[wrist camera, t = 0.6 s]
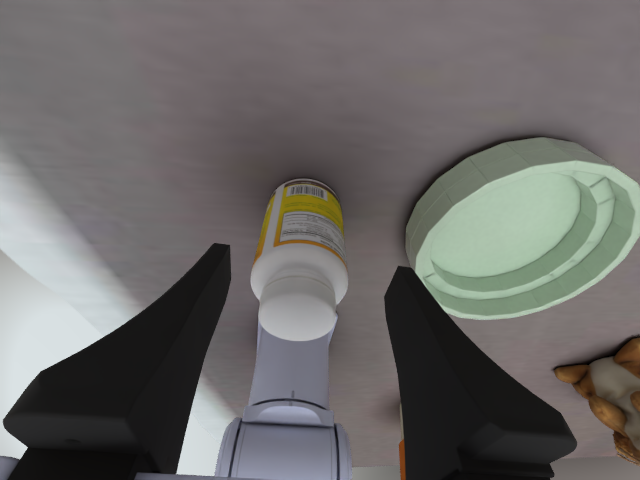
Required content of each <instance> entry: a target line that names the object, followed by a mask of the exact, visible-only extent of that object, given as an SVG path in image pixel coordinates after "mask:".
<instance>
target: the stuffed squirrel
mask: <svg viewBox="0 0 640 480" xmlns="http://www.w3.org/2000/svg"><path fill="white" fill-rule="evenodd" d="M554 372H555V375H556V377H557V378H558V379H560V380H562V381H564V382H567V383H571V384H572V385H573V387H574V388H575V390H576V391H577V392H579V393H580V394H581V395H582V396H583V397H584V398H586V399H588V400H589V406H590V409H591V410H592V412H593V413H594V415H595V416H596V417H597V418H598V419H599V420H600V421H601V422H602V423H603V424H605V425H606V426H607V427H609V428H611V429H613V431H614V434H612V435H613V436H614V440H615V441H614V443H615V446H616V450H617V451H618V453H621V454H623V455H625V456H627V458H630V459H631V460H633V461H635V462H637V463H635V462H632V461H629V460H627V459H626V458H625V457H623V456H621V455H619V454H617V456H619V457H621V458H623V459H625V460H627V461H629V462H631V463H633V464H636V465H638V466H640V338H637V339H632V340H631V341H629V342H628V343H627V344H625V345H624V346H623V347H622V348H621V349H620V351H619V352H618V353H617V354H616V356H611V357H606V358H602V359H599V360H596V361H594V362H592V363H590V364H589V365H574V366H566V367H559V368H557V369H556V370H555V371H554Z"/></svg>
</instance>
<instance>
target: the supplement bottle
mask: <svg viewBox="0 0 640 480" xmlns="http://www.w3.org/2000/svg"><path fill="white" fill-rule="evenodd" d="M251 287H252V290H253V292H254V294H255V296H256V297H257V298H258V300H259V301H260V307H259V312H258V318H259V322H260V324H261V326H262V327H263V328H264V329H265V330H266V331H267V332H269V333H270V334H272V335H274V336H276V337H278V338H281V339H285V340H290V341H308V340H313V339H317V338H319V337H322V336H324V335H325V334H327V333H328V332H329V331H330V330H331V329H332V328H333V326H334V324H335V320H336V305H337V304H338V303H339V302H340V301H341V300H342V299H343V297H344V296H345V294H346V291H347V288H348V271H347V262H346V251H345V241H344V230H343V220H342V209H341V205H340V201H339V199H338V197H337V196H336V194H335V193H334V192H333V190H331V189H330V188H329V187H328V186H327V185H325V184H323V183H321V182H319V181H316V180H312V179H295V180H291V181H288V182H286V183H284V184H282V185H281V186H279V187H278V188H277V189H276V190H275V191H274V192H273V194H272V195H271V197H270V200H269V202H268V206H267V210H266V214H265V219H264V223H263V227H262V231H261V235H260V239H259V243H258V247H257V251H256V255H255V259H254V263H253V267H252V272H251Z"/></svg>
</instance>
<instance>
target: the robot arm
mask: <svg viewBox="0 0 640 480" xmlns="http://www.w3.org/2000/svg"><path fill="white" fill-rule="evenodd" d="M230 281H231V261H230V245H226V244H218V243H214V244H213V245H212V246H211V247H210V248H209V249H208V250H207V252H206V253H205V254H204V255H203V256H202V257H201V258H200V259H199V261H198V262H197V263H196V264H195V265H194V266H193V267H192V268H191V269H190V270H189V271H188V272H187V273H186V274H185V275H184V276H183V277H182V278H181V279H180V280H179V281H178V282H177V283H175V284H174V285H173V286H172V287H171V288H170V289H169V290H168V291H167V292H165V293H164V294H163V295H162V296H161V297H160V298H158V299H157V300H156V301H155V302H154V303H152V304H151V305H150V306H148V307H147V308H146V309H145V310H143V311H142V312H141V313H139V314H138V315H136V316H135V317H133V318H132V319H131V320H129V321H128V322H126V323H125V324H124V325H122V326H121V327H119V328H118V329H116V330H114V331H113V332H111V333H110V334H108V335H106V336H105V337H103V338H102V339H100V340H98V341H96V342H95V343H93V344H91V345H90V346H88V347H87V348H85V349H83V350H81V351H79V352H78V353H76V354H74V355H72V356H70V357H68V358H66V359H64V360H62V361H60V362H58V363H57V364H54V365H53V366H51V367H49V368H47V369H45V370H43V371H41V372H40V373H39V374H38V375H37V376H36V378H35V379H34V380H33V381H32V382H31V383H30V385H29V386H28V387H27V388H26V389H25V391H24V392H23V394H22V395H21V396H20V398H19V399H18V400H17V402H16V403H15V404H14V406H13V407H12V408H11V410H10V411H9V412H8V414H7V415H6V417H5V418H4V419H3V425H4V428H5V429H6V430H7V431H8V432H9V433H10V434H11V435H13V436H14V437H15V438H17V439H18V440H19V441H21V442H22V443H23V444H24V445H26V446H27V447H28V448H27V450H26V451H25V453H24V455H23V456H22V458H21V459H20V460H19V459H16V458H13V457H6V456H0V480H352V459H351V448H350V442H349V437H348V434H347V432H346V431H345V430H344V429H343V427H342V425H341V424H339V423H334V411H331V410H330V409H329V343H330V340H331V337H332V334H333V331H334V328H335V325H336V322H337V319H338V314H337V313H336V320H335V324H334V326H333V328H332V329H331V330H330V331H329V332H328V333H327V334H325V335H324V336H322V337H319V338H317V339H313V340H308V341H290V340H285V339H281V338H278V337H276V336H274V335H272V334H270V333H269V332H267V331H266V330H265V329H264V328H263V327H262V326H261V324H260V322H259V320H258V338H257V359H256V365H255V370H254V376H253V382H252V387H251V393H250V399H249V404H248V406H245V408H244V414H243V419H242V418H235V419H234V420H233V422H231V423H230V424H229V425H228V426H227V428H226V430H225V432H224V435H223V439H222V442H221V446H220V450H219V455H218V459H217V464H216V470H215V476H196V475H178V474H176V472H177V467H178V463H179V458H180V454H181V450H182V445H183V441H184V436H185V432H186V428H187V424H188V420H189V415H190V411H191V407H192V403H193V399H194V396H195V392H196V388H197V384H198V380H199V376H200V373H201V369H202V365H203V362H204V358H205V355H206V352H207V349H208V346H209V344H210V341H211V339H212V336H213V333H214V331H215V328H216V325H217V323H218V320H219V317H220V315H221V312H222V309H223V307H224V304H225V301H226V298H227V294H228V290H229V286H230ZM384 300H385V313H386V321H387V325H388V330H389V335H390V339H391V344H392V349H393V353H394V358H395V362H396V367H397V373H398V380H399V389H400V397H401V408H402V419H403V434H404V450H405V477H406V480H550V478H552V477H554V472H553V470H552V468H551V466H550V464H549V463H551V462H553V461H555V460H557V459H559V458H562V457H564V456H566V455H568V454H569V453H571V452H573V451H574V450H575V448H576V446H577V441H576V439H575V437H574V436H573V434H572V432H571V430H570V428H569V427H568V425H567V423H566V421H565V419H564V418H563V416H562V414H561V413H560V412H559V411H557V410H556V409H554V408H553V407H552V406H550V405H549V404H547V403H546V402H544V401H543V400H542V399H540V398H539V397H537V396H536V395H535V394H533V393H532V392H530V391H529V390H528V389H526V388H525V387H524V386H523V385H521V384H520V383H519V382H517V381H516V380H515V379H514V378H512V377H511V376H510V375H509V374H507V373H506V372H505V371H504V370H503V369H501V368H500V367H499V366H498V365H497V364H496V363H495V362H493V361H492V360H491V359H490V358H489V357H488V356H487V355H486V354H485V353H483V352H482V351H481V350H480V349H479V348H478V347H477V346H476V345H475V344H474V343H473V342H472V341H471V340H470V339H469V338H468V337H467V336H466V335H465V334H464V333H463V331H462V330H461V329H460V328H459V327H458V326H457V325H456V324H455V323H454V321H453V320H452V319H451V318H450V317H449V316H448V314H447V313H446V312H445V311H444V310H443V308H442V307H441V306H440V305H439V303H438V302H437V301H436V299H435V298H434V297H433V296H432V294H431V293H430V292H429V290H428V289H427V288H426V286H425V285H424V284H423V282H422V281H421V279H420V278H419V277H418V275H417V274H416V273H415V271H414V270H413V269H412V268H410V267H402V266H398V267H397V270H396V272H395V274H394V276H393V278H392V281H391V283H390V285H389V287H388V289H387V292H386V294H385V296H384Z"/></svg>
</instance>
